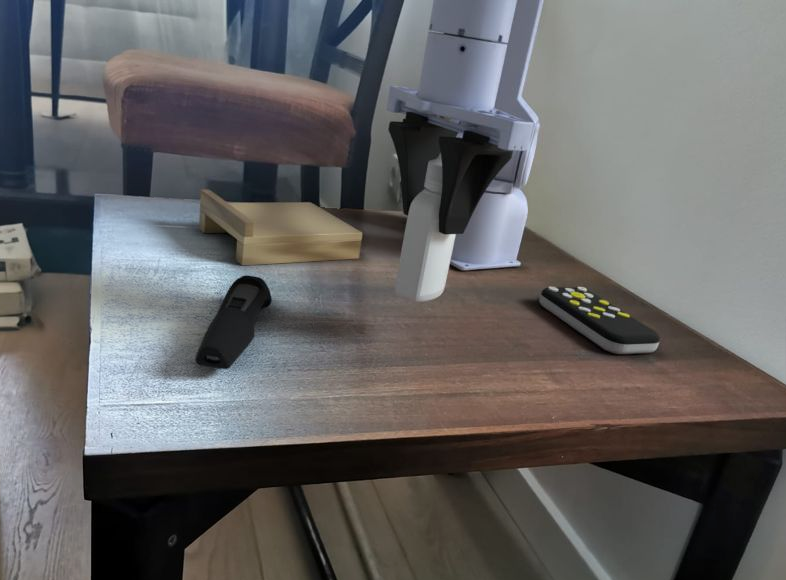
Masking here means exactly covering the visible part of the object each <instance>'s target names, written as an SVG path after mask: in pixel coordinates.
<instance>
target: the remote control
mask: <svg viewBox="0 0 786 580" xmlns="http://www.w3.org/2000/svg"><path fill="white" fill-rule="evenodd" d="M538 301H539V304H540V305H541V307H543V308H544V309H546V310H547V311H548V312H550V313H551V314H553V315H554V316H555V317H557V318H558V319H560V320H561V321H563V323H566V325H568V326H570V327H571V328H573V329H574V330H576V331H577V332H578V333H580V334H581V335H583V336H584V337H585V338H586V339H588V340H589V341H591V342H593V343H594V344H595V345H597V346H598V347H600V348H601V349H603V350H604V351H607V352H608V353H611V354H616V355H632V354H633V355H634V354H636V355H637V354H650V353H653V352H655V351H656V350H657V349H658V347H659V344H660V342H661V337H660V334H659V333H658V332H657V331H656V330H655V329H653V328H651V327H649V326H648V325H646V324H645V323H643V322H642V321H640V320H638V319H637V318H635V317H633V316H631V315H630V314H628V313H626V312H625V311H624V310H621V309H620V308H618V307H617V306H616V305H613V304H612V303H611V302H609V301H607V300H605V299H603V298H602V297H601V296H598V295H597V294H596V293H594V292H592V291H590V290H589V289H587V288H586V287H583V286H577V287H576V286H571V287H570V286H560V287H559V286H548V287H545V288H543V289H542V290H541V292H540V295H539V299H538Z"/></svg>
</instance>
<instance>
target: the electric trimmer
mask: <svg viewBox="0 0 786 580" xmlns="http://www.w3.org/2000/svg"><path fill="white" fill-rule="evenodd" d="M272 300H273V299H272V295H271V290H270V288H269V286H268V284H267V282H266V281H265V280H264V279H263V278H262V277H259V276H253V275H242V276H240V277H239V278H237V279H235V281H233V283H232V284H231V285H230V286H229V288H228V289H227V291H226V294H225V296H224V298H223V300H222V302H221V304H220V306H219V308H218V310H217V312H216V314H215V316H214V317H213V319H212V321H211V322H210V323H209V325H208V327H207V328H206V331H205V333H204V335H203V338H202V340H201V342H200V345H199V347H198V350H197V352H196V355H195V359H194V360H195V363H196V364H197V365H198V366H202V367H207V368H216V369H222V370H227V369H230V368H231V367H232V366H233V364H234V363H235V362H236V361H237V360H238V359H239V357H240V356H242V354H243V353H244V351H245V350H246V349H248V347H249V346H250V344H251V343H252V341H253V340H254V338H255V333H256V332H255V323H256V318H257V317H258V314H259V313H260V310H261V309H262V308H269V306H270V305H271V304H272Z"/></svg>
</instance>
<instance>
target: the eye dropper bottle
mask: <svg viewBox="0 0 786 580" xmlns="http://www.w3.org/2000/svg"><path fill="white" fill-rule="evenodd" d="M442 179H443V176H442V159H441V152H440V154H439V156H438V157H437V158H436V159H434V160H430V161H429V162H428V167H427V173H426V178H425V184H424V187H425V189H424V190H423V191H422V192H420V193H419V194H418V195H417V196H416V197H415V198H414V200H413V201H412V203H411V205H410V209H409V213H408V216H407V218H406V224H405V230H404V235H403V241H402V246H401V252H400V256H399V264H398V269H397V274H396V279H395V287H394V294H395V295H396V296H397V297H399V298H402V299H405V300H407V301H410V302H414V303H426V302H429V301H433V300H435V299H437V298H439V297H440V296H441V295H442V294H443V292H444V291H445V289H446V285H447V284H446V283H447V278H448V274H449V271H450V270H449V269H450V265H451V264H450V260H451V255H452V250H453V245H454V241H455V236H456V234H446V235H445V234H442V233H440V232H439V209H440V202H441V195H442Z"/></svg>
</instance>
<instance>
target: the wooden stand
mask: <svg viewBox="0 0 786 580" xmlns="http://www.w3.org/2000/svg"><path fill="white" fill-rule="evenodd" d="M199 197H200V201H199V203H200V204H199V221H198V223H199V224H198V230H199V231H201V232H202V233H203V234H222V233H225V234H226V233H228V234H229V235H231V236H232V237H233V238H235V240H236V252H235V261H236V262H237V263H238V264H239V265H241V266H258V265H274V264H275V265H276V264H292V263H308V262H326V261H327V262H328V261H341V260H344V261H345V260H358V259H360V252H361V248H362V247H361V246H362V239H363V234H364V233H363V232H362V231H361V230H358V229H357V228H355V227H354V226H351V225H350V224H348V223H347V222H345V221H344V220H341V219H340V218H338V217H336V216H335V215H333V214H331V213H330V212H328V211H326V210H325V209H323V208H321V207H319V206H318V205H316V204H315V203H312V202H311V201H307V202H305V201H303V202H300V201H299V202H296V201H295V202H294V201H293V202H289V201H288V202H281V201H280V202H227V201H226V200H224V199H223V198H222V197H220V196H219V195H217V193H215V192H213V191H212V190H211V189H200V196H199Z"/></svg>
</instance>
